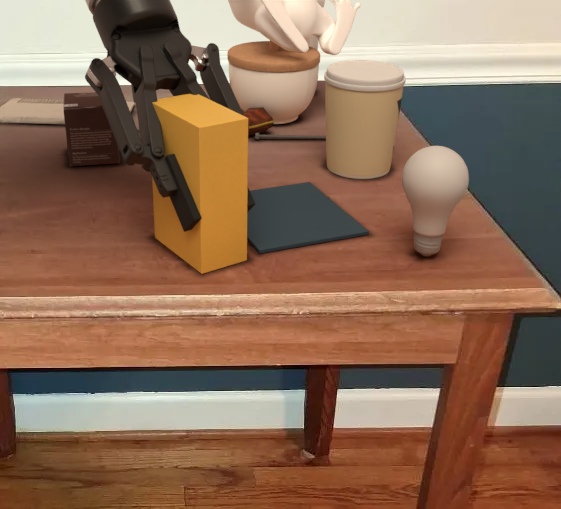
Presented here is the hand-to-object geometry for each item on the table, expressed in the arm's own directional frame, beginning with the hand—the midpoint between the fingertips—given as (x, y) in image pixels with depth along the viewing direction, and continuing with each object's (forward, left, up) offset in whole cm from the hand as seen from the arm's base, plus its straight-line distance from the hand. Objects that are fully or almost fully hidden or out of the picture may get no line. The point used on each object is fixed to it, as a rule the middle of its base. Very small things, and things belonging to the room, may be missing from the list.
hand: (220, 217), depth 77 cm
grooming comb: (-3, +54, -3) cm, 55 cm away
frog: (+23, +39, +2) cm, 45 cm away
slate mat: (+10, +8, -5) cm, 14 cm away
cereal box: (-1, +4, -5) cm, 6 cm away
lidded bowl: (+22, +39, -5) cm, 45 cm away
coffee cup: (+24, +18, -5) cm, 30 cm away
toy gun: (+16, +38, -3) cm, 42 cm away
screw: (+21, +29, -4) cm, 36 cm away
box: (-5, +32, -5) cm, 32 cm away
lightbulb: (+19, -5, -5) cm, 21 cm away
